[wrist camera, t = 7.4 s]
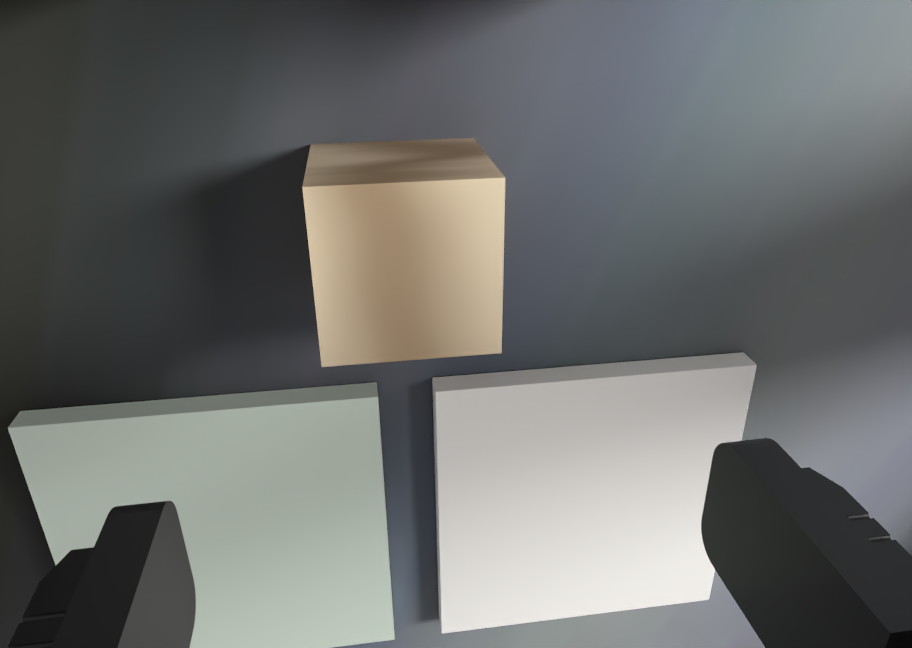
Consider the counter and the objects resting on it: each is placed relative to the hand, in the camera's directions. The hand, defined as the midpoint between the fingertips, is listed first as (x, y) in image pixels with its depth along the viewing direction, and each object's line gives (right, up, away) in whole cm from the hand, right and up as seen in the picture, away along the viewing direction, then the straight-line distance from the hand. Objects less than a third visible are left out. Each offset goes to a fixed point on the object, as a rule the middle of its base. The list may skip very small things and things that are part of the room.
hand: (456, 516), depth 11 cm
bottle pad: (-9, -5, +17) cm, 20 cm away
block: (-2, +6, +12) cm, 14 cm away
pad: (+5, -4, +18) cm, 20 cm away
